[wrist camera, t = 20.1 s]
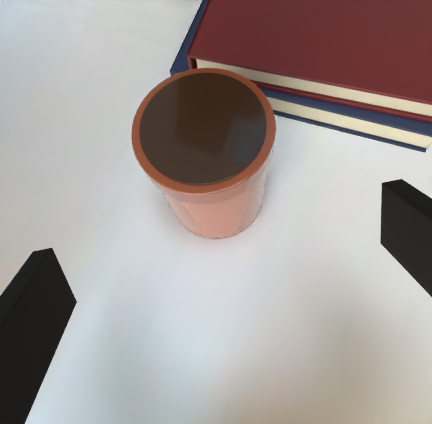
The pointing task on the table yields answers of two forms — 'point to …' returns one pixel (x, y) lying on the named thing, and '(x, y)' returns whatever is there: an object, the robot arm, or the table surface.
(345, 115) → the navy book
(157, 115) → the terracotta pot
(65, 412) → the table surface
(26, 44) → the table surface
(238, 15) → the burgundy book
